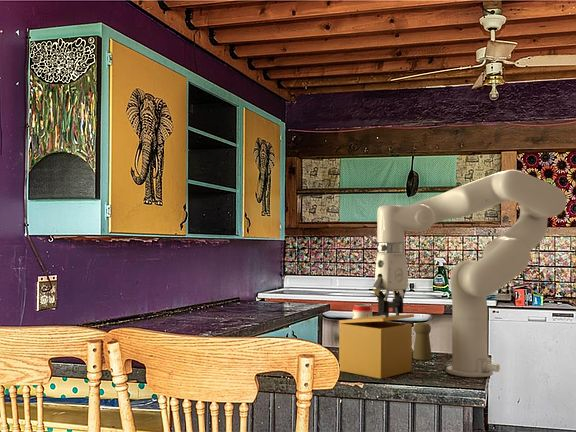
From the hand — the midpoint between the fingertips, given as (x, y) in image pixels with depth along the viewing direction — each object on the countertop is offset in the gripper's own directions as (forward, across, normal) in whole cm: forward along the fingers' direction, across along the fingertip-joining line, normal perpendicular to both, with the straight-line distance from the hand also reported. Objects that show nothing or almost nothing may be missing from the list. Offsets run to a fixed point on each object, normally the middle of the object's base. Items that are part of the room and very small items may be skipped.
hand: (390, 313), depth 190 cm
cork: (+17, +27, +7) cm, 33 cm away
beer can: (+17, +17, +23) cm, 33 cm away
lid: (+2, 0, +5) cm, 5 cm away
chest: (+17, 0, +5) cm, 17 cm away
